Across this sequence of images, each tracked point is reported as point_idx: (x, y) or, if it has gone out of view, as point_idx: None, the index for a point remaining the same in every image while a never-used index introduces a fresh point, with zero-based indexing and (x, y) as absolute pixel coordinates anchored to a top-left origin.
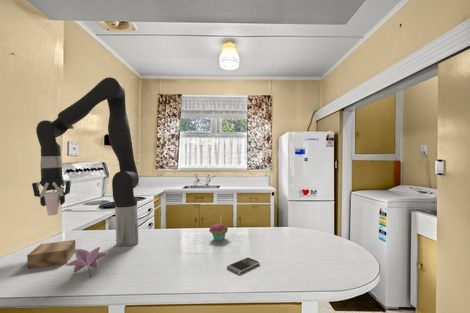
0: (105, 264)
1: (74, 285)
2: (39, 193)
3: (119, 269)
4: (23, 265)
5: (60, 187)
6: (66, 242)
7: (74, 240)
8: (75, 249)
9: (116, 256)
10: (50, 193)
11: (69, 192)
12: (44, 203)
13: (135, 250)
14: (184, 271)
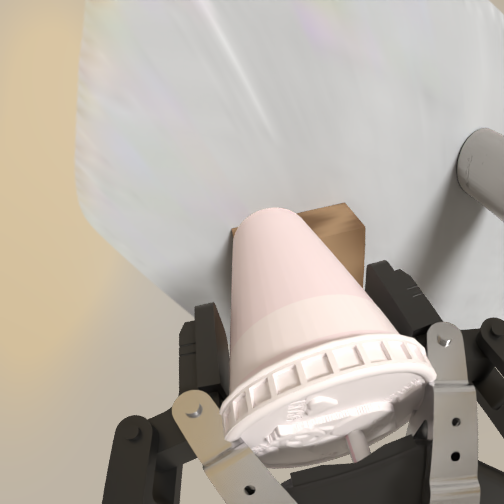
0: (426, 295)
1: None
2: (162, 453)
3: (442, 313)
4: (220, 289)
5: (461, 434)
6: (340, 253)
7: (364, 234)
8: (348, 207)
9: (448, 258)
10: (339, 456)
11: (502, 330)
12: (225, 347)
13: (485, 227)
14: (500, 315)
